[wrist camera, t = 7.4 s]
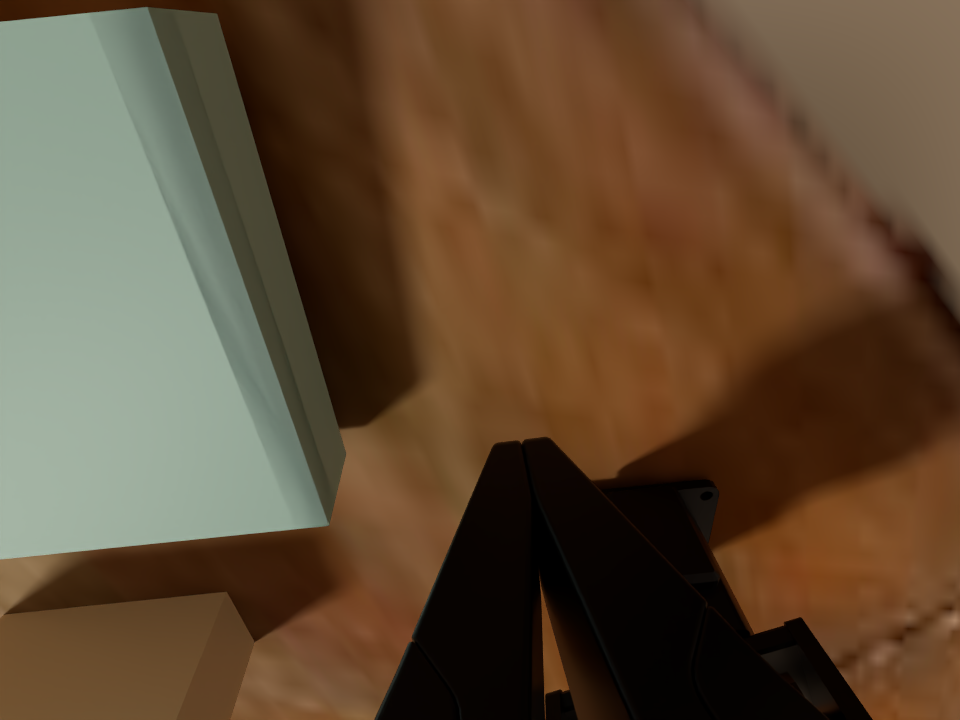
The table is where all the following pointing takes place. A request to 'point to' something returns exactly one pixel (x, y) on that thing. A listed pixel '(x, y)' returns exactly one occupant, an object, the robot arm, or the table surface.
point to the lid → (146, 298)
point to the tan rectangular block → (125, 660)
